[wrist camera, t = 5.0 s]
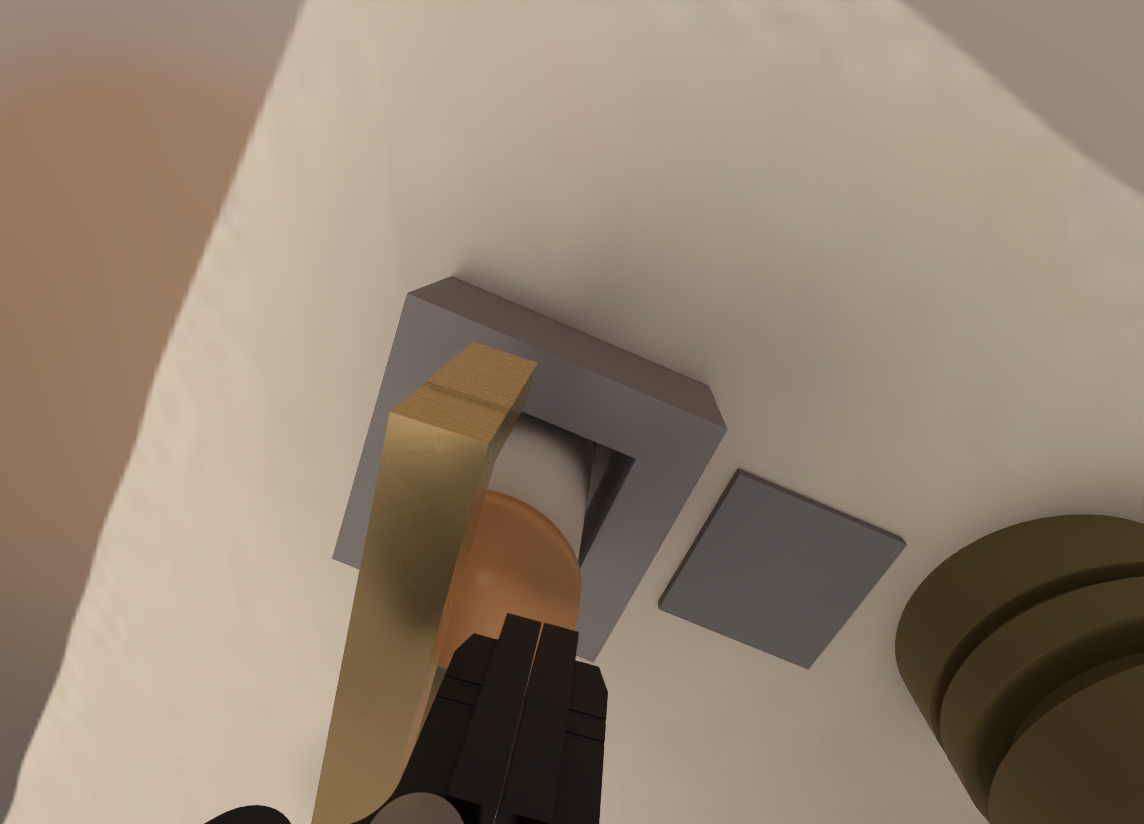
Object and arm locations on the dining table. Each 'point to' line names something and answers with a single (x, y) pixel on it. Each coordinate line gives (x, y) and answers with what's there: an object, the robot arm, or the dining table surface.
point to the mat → (778, 570)
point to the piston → (1037, 669)
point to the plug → (526, 536)
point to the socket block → (575, 403)
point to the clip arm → (414, 570)
